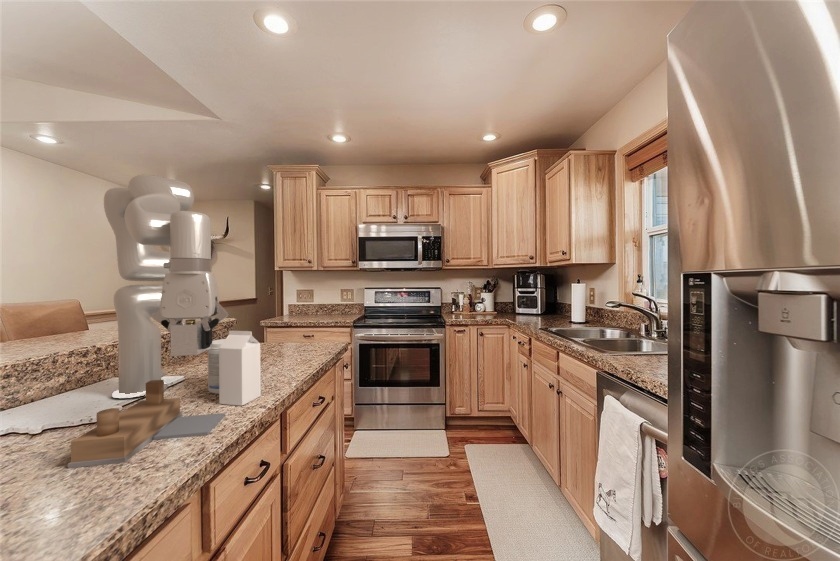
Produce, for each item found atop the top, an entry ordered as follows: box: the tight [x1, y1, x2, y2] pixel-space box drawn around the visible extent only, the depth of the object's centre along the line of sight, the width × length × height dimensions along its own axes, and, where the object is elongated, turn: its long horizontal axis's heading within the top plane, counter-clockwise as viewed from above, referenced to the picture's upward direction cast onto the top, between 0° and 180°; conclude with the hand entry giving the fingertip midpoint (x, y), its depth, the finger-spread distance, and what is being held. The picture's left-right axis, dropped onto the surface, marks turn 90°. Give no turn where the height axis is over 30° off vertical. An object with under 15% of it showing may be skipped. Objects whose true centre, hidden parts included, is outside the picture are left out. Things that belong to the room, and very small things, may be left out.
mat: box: [152, 412, 226, 441], centre depth 73 cm, size 10×10×1 cm
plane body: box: [67, 379, 183, 469], centre depth 68 cm, size 21×9×10 cm, turn 13°
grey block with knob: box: [170, 319, 211, 357], centre depth 73 cm, size 7×5×7 cm
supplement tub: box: [207, 338, 226, 395], centre depth 98 cm, size 10×10×15 cm
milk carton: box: [218, 330, 262, 406], centre depth 88 cm, size 7×7×19 cm
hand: (191, 347), depth 73 cm, fingers closed on grey block with knob, 5 cm apart
